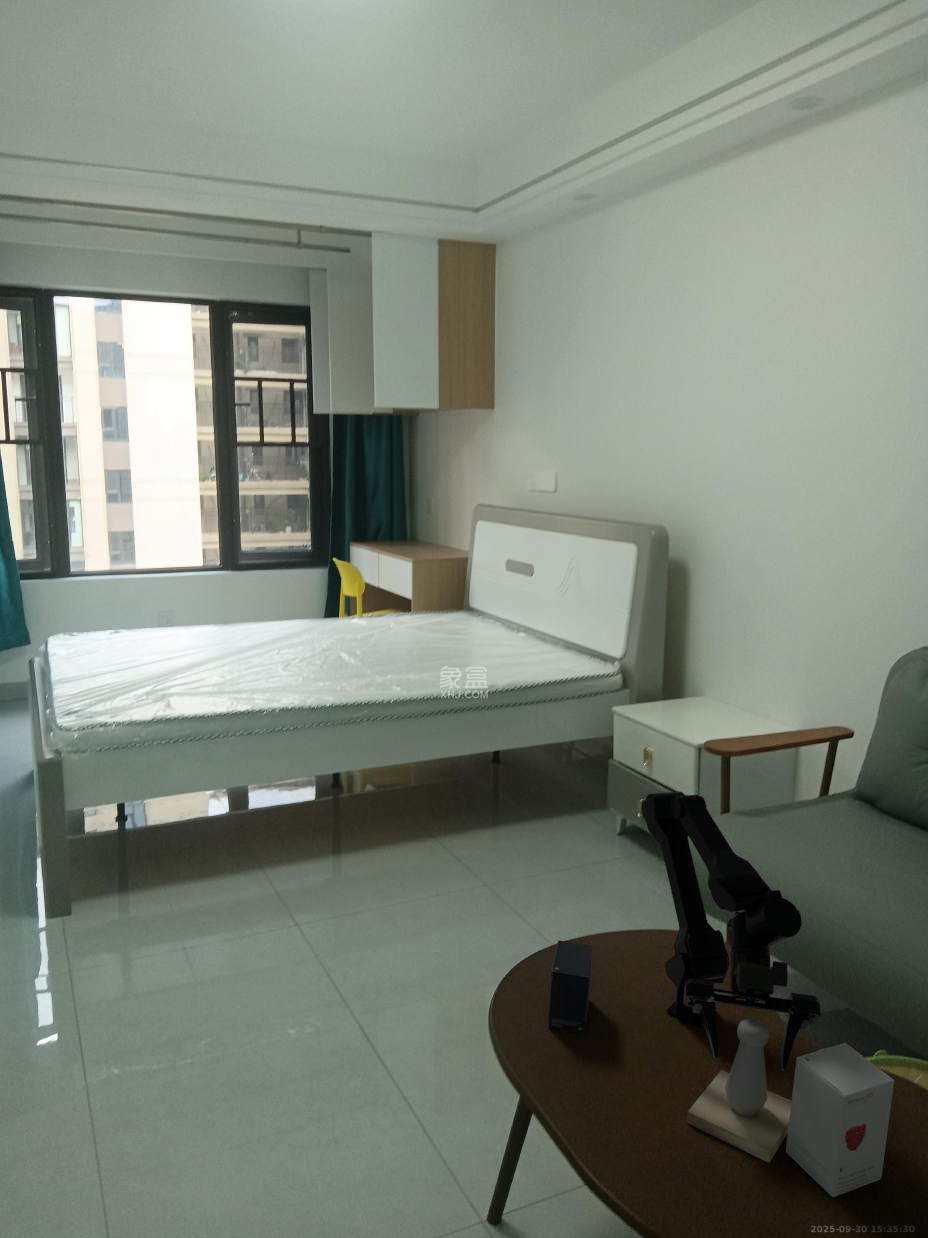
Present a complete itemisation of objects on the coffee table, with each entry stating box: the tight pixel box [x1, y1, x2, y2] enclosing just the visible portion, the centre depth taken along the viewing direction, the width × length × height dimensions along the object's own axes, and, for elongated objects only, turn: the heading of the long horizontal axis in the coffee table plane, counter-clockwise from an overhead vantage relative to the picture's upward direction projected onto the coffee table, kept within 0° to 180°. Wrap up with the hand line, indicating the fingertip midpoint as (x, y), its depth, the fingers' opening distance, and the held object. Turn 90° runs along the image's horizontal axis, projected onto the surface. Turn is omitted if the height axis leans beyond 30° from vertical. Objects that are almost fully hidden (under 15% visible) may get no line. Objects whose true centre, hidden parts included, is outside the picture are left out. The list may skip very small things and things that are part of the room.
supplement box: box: [785, 1042, 895, 1198], centre depth 127 cm, size 9×9×15 cm
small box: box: [547, 940, 593, 1034], centre depth 160 cm, size 11×6×10 cm, turn 168°
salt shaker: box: [725, 1018, 770, 1117], centre depth 135 cm, size 6×6×13 cm
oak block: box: [686, 1069, 792, 1163], centre depth 136 cm, size 12×12×2 cm
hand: (749, 1064), depth 133 cm, fingers open, 9 cm apart
